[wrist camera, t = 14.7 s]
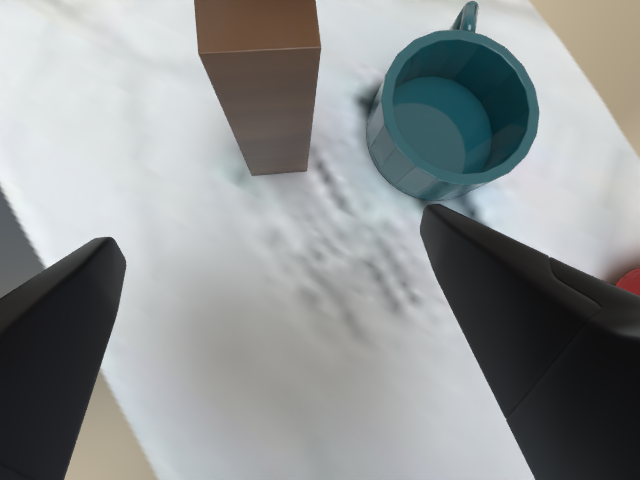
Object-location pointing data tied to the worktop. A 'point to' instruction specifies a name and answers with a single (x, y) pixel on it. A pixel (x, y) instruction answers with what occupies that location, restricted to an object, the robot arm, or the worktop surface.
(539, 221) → the worktop surface
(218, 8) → the block
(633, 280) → the pomegranate
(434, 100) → the teal mug
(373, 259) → the worktop surface
